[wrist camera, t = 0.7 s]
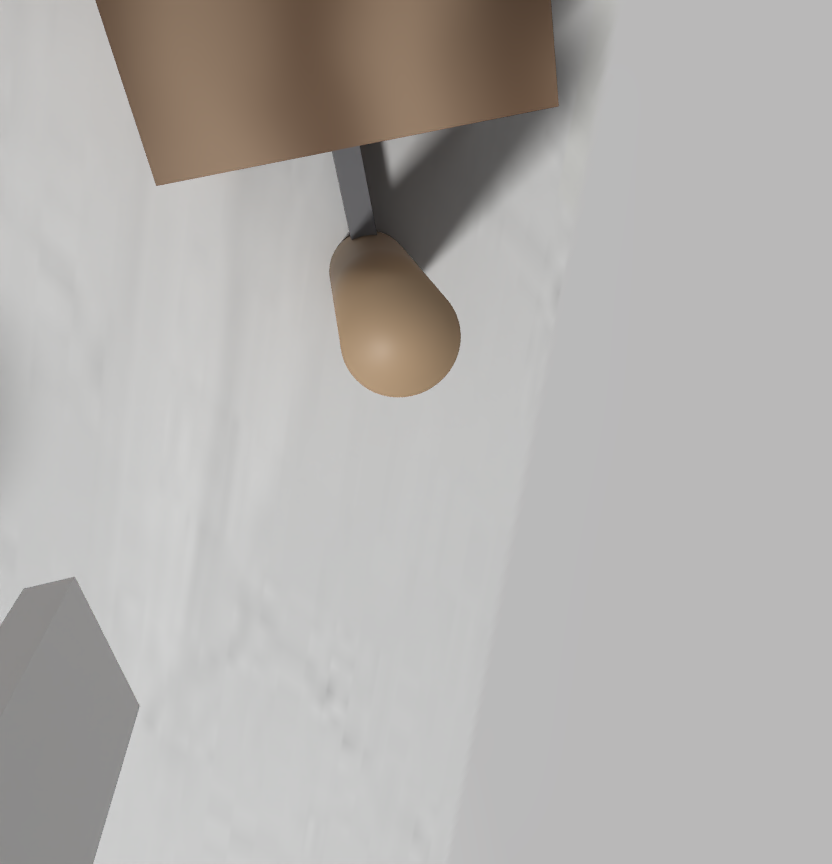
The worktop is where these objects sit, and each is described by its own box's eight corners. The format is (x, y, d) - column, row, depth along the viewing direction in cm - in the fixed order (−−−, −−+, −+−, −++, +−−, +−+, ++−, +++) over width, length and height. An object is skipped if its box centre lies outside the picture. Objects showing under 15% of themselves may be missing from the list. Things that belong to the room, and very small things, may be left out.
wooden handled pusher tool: (320, 324, 33) (326, 414, 22) (157, -336, 23) (22, -760, 12) (435, 299, 34) (496, 377, 23) (326, -361, 23) (342, -794, 12)
